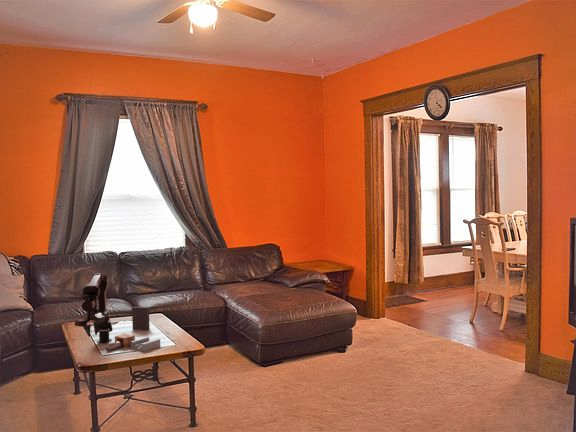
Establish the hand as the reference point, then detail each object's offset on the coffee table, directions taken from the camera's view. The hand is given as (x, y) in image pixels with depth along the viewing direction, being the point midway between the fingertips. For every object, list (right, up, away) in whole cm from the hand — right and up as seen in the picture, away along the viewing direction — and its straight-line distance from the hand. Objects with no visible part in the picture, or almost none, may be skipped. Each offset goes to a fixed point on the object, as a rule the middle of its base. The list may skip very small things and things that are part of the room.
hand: (92, 335), depth 296 cm
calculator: (+11, -9, +57) cm, 59 cm away
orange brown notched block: (+12, -10, +19) cm, 25 cm away
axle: (+10, -11, +15) cm, 21 cm away
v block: (+26, -10, +14) cm, 31 cm away
